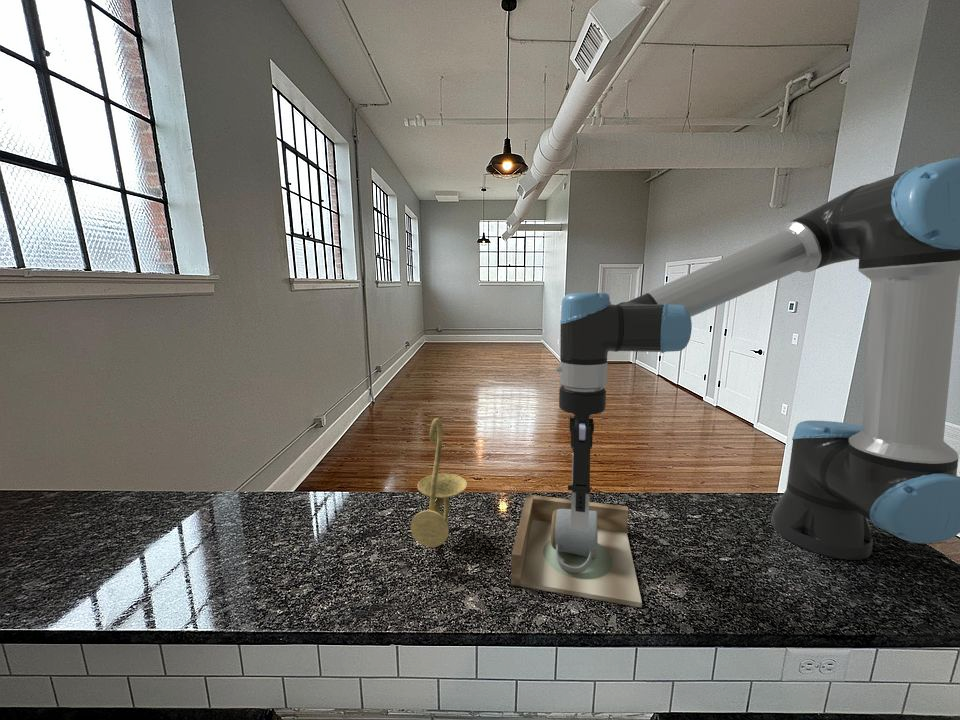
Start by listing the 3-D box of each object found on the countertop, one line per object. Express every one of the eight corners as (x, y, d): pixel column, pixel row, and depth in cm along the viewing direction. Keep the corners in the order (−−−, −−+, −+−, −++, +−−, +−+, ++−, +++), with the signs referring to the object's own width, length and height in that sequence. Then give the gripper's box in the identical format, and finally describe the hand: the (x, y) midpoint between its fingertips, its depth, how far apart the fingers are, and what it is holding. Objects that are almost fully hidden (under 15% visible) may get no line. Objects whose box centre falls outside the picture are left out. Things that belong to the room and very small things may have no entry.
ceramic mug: (553, 534, 77) (554, 497, 75) (596, 541, 74) (599, 503, 73) (547, 571, 67) (549, 530, 65) (598, 580, 64) (600, 538, 63)
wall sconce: (456, 569, 68) (456, 430, 64) (403, 563, 69) (400, 426, 65) (470, 523, 82) (471, 406, 78) (426, 519, 83) (424, 404, 79)
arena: (625, 532, 79) (627, 506, 78) (641, 607, 60) (644, 575, 59) (525, 518, 84) (526, 494, 83) (510, 584, 64) (511, 554, 64)
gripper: (562, 372, 79) (559, 472, 82) (556, 405, 55) (553, 545, 58) (601, 373, 77) (597, 475, 80) (612, 408, 53) (606, 552, 56)
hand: (579, 505), depth 69 cm, fingers open, 13 cm apart
